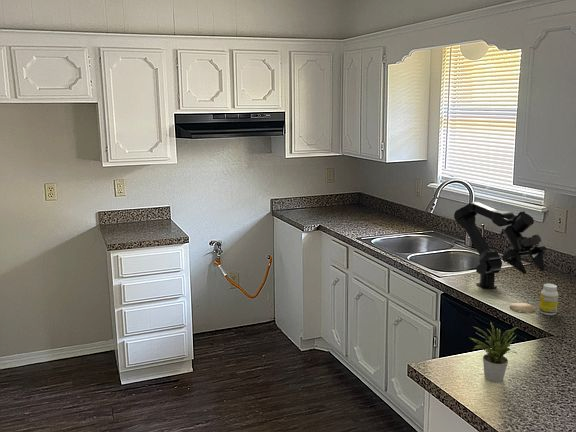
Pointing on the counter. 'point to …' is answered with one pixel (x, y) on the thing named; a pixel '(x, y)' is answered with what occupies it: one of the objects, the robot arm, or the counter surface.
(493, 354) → the house plant
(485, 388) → the counter surface
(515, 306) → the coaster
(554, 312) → the pill bottle
